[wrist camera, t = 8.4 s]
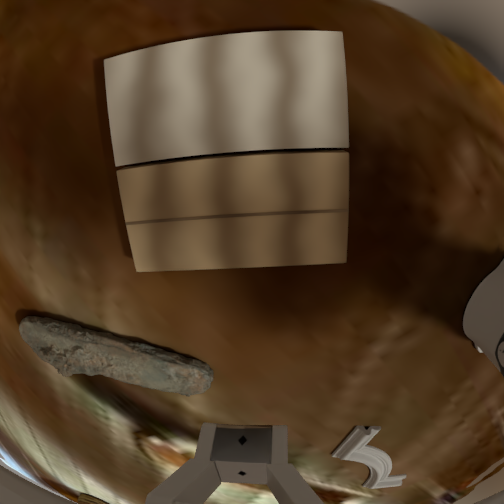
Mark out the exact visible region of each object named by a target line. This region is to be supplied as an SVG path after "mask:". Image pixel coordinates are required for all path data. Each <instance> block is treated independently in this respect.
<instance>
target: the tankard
mask: <svg viewBox="0 0 504 504" xmlns="http://www.w3.org/2000/svg"><path fill="white" fill-rule="evenodd" d="M78 503H79V504H109V503H107V502H105V501H103V500H101V499H99V498H96V497H93V496H90V495H87V494H80V496H79V497H78Z"/></svg>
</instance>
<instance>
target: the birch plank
mask: <svg viewBox="0 0 504 504" xmlns="http://www.w3.org/2000/svg"><path fill="white" fill-rule="evenodd" d="M104 70H105V84H106V95H107V105H108V115H109V123H110V131H111V139H112V146H113V153H114V160H115V166H122V165H128V164H134V163H141V162H147V161H155V160H162V159H170V158H178V157H186V156H195V155H205V154H215V153H227V152H239V151H254V150H271V149H295V148H349V127H348V101H347V82H346V68H345V55H344V44H343V34H342V32H335V31H263V32H248V33H236V34H226V35H218V36H210V37H203V38H196V39H190V40H184V41H179V42H173V43H168V44H163V45H159V46H154V47H150V48H145V49H141V50H137V51H133V52H129V53H126V54H122V55H118V56H115V57H111V58H108V59H105V60H104Z"/></svg>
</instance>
